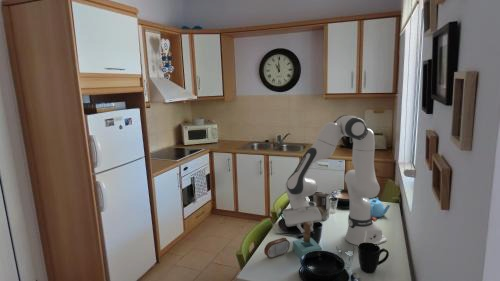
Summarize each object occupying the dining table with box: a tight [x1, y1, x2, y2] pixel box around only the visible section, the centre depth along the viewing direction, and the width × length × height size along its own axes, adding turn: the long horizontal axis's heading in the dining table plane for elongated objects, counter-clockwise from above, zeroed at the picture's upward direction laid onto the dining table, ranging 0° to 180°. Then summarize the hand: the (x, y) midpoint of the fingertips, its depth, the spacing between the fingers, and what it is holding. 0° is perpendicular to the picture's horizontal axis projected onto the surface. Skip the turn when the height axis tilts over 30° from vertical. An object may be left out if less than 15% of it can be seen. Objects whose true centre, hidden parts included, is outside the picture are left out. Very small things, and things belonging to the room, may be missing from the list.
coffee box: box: [312, 191, 331, 221], centre depth 207 cm, size 9×6×16 cm
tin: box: [263, 237, 291, 259], centre depth 164 cm, size 15×3×8 cm, turn 121°
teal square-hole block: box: [292, 237, 323, 259], centre depth 166 cm, size 11×11×5 cm
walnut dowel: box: [302, 222, 311, 243], centre depth 164 cm, size 4×4×10 cm
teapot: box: [369, 197, 391, 219], centre depth 211 cm, size 15×15×11 cm
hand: (307, 231), depth 163 cm, fingers closed on walnut dowel, 3 cm apart
